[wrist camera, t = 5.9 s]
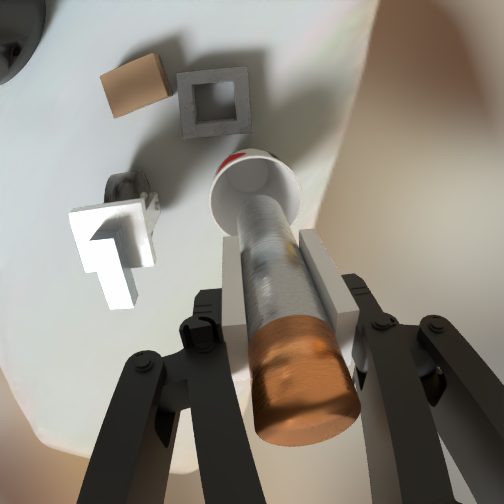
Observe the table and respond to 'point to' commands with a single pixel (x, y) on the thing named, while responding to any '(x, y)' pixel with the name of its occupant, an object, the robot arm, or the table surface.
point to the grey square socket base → (214, 127)
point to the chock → (136, 85)
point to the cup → (252, 187)
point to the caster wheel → (118, 235)
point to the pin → (289, 336)
